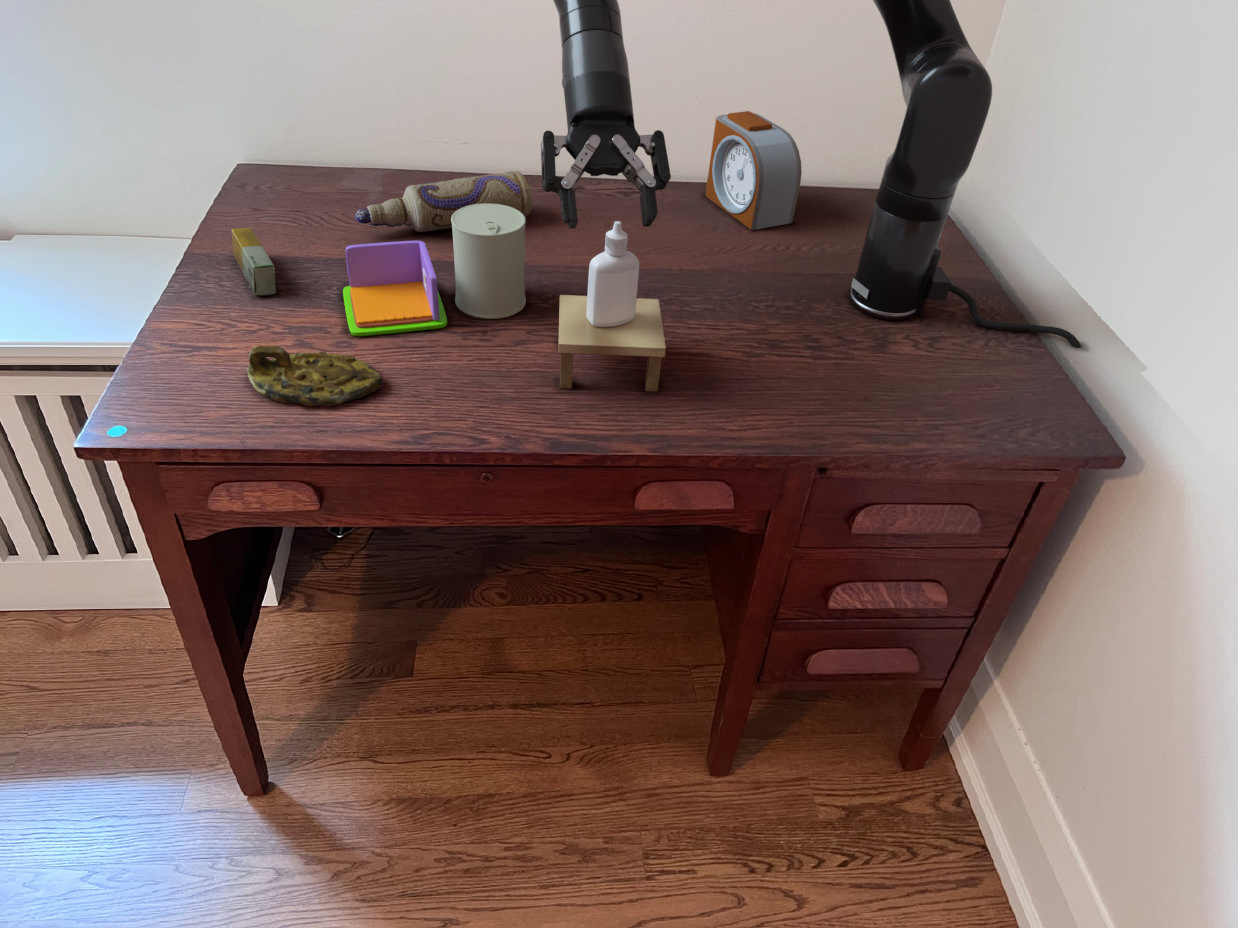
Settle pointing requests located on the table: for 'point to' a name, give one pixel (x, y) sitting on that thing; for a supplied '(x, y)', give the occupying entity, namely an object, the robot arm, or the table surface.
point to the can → (489, 260)
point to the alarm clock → (754, 170)
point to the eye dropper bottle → (613, 282)
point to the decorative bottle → (448, 201)
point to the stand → (611, 337)
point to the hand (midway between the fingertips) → (611, 225)
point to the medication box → (254, 262)
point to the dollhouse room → (391, 289)
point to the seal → (310, 376)
